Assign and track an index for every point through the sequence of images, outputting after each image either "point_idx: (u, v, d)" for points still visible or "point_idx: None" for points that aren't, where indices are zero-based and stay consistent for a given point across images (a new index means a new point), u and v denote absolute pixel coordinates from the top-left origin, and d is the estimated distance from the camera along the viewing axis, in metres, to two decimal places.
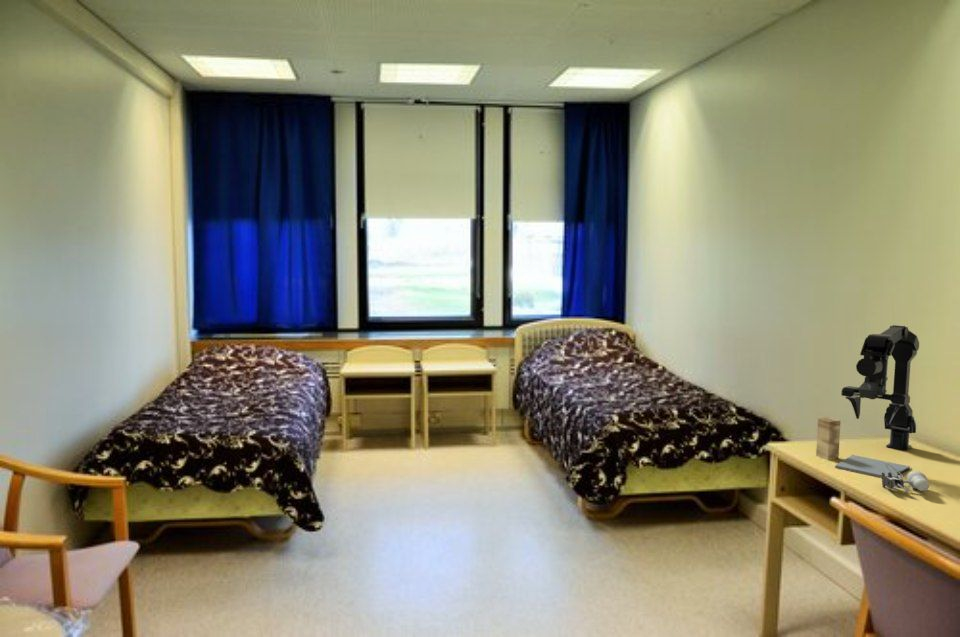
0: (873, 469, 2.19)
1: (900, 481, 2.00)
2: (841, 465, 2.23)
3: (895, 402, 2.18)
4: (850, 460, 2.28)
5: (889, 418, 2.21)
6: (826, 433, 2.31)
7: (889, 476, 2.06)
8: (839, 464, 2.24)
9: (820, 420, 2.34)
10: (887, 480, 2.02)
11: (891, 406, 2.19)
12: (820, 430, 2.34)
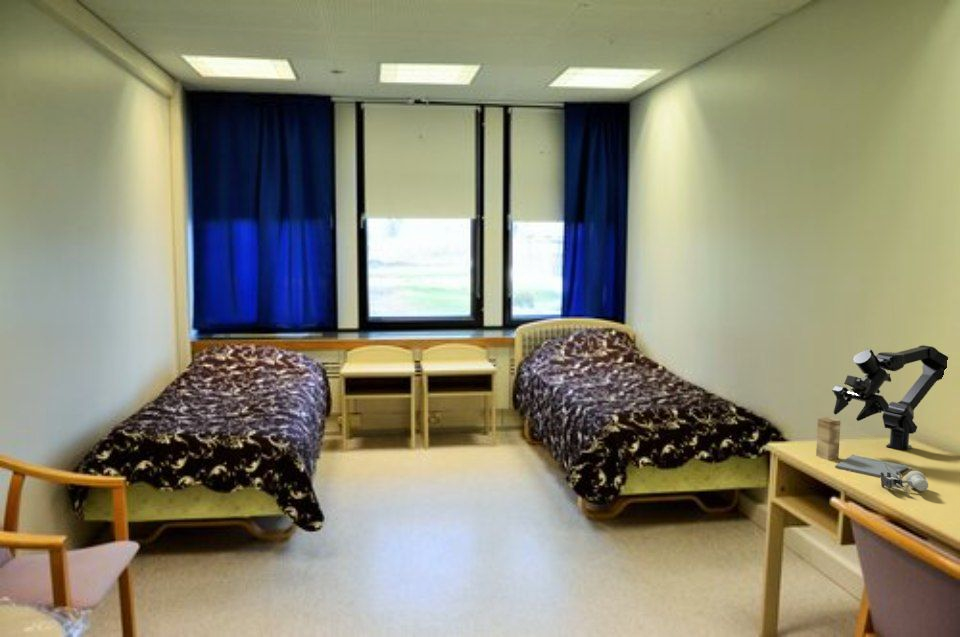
0: (873, 469, 2.19)
1: (899, 481, 2.00)
2: (841, 465, 2.23)
3: (872, 398, 2.29)
4: (850, 460, 2.28)
5: (860, 414, 2.31)
6: (826, 433, 2.31)
7: (888, 476, 2.06)
8: (839, 464, 2.24)
9: (820, 420, 2.34)
10: (886, 480, 2.02)
11: (867, 402, 2.31)
12: (820, 430, 2.34)
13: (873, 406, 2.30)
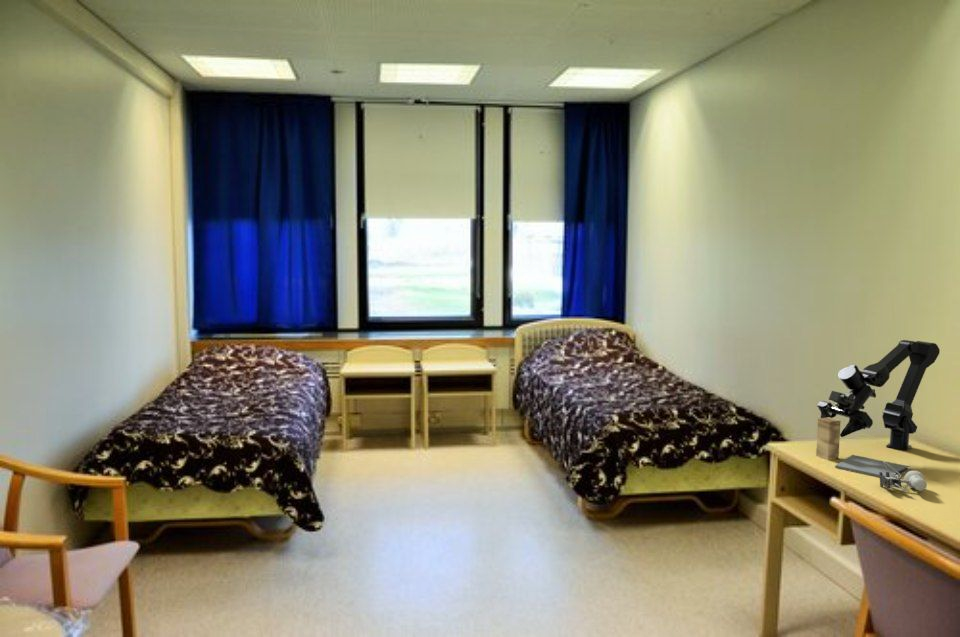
0: (873, 469, 2.19)
1: (897, 481, 2.00)
2: (841, 465, 2.23)
3: (855, 414, 2.28)
4: (850, 460, 2.28)
5: (844, 430, 2.29)
6: (826, 433, 2.31)
7: (887, 475, 2.06)
8: (839, 464, 2.24)
9: (820, 420, 2.34)
10: (885, 479, 2.02)
11: (851, 418, 2.29)
12: (820, 430, 2.34)
13: (857, 422, 2.29)
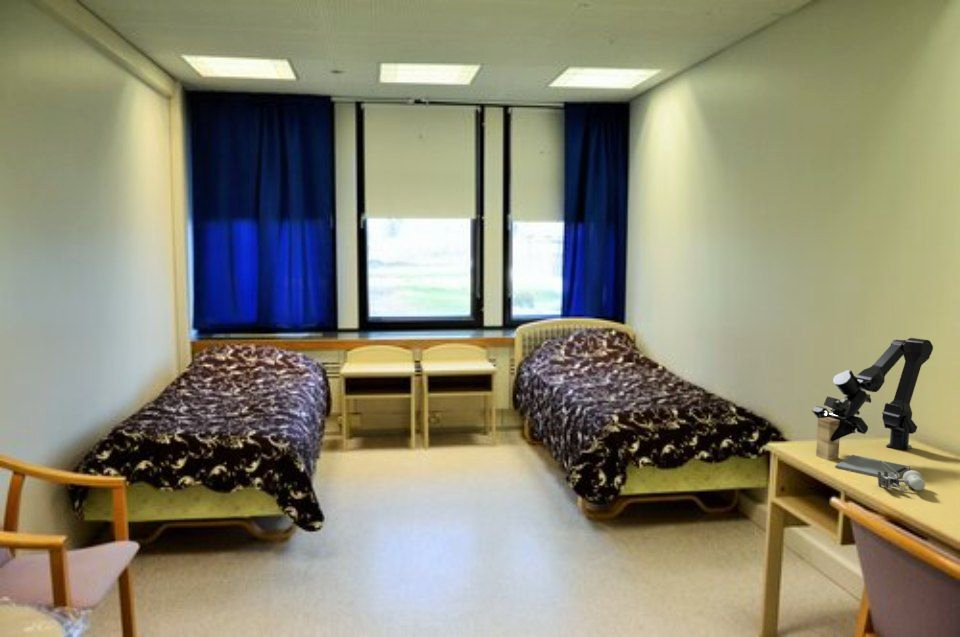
0: (873, 469, 2.19)
1: (896, 480, 2.01)
2: (841, 465, 2.23)
3: (851, 420, 2.27)
4: (850, 460, 2.28)
5: (834, 434, 2.31)
6: (826, 433, 2.31)
7: (885, 475, 2.06)
8: (839, 464, 2.24)
9: (820, 420, 2.34)
10: (883, 479, 2.03)
11: (841, 423, 2.30)
12: (820, 430, 2.34)
13: (847, 426, 2.30)
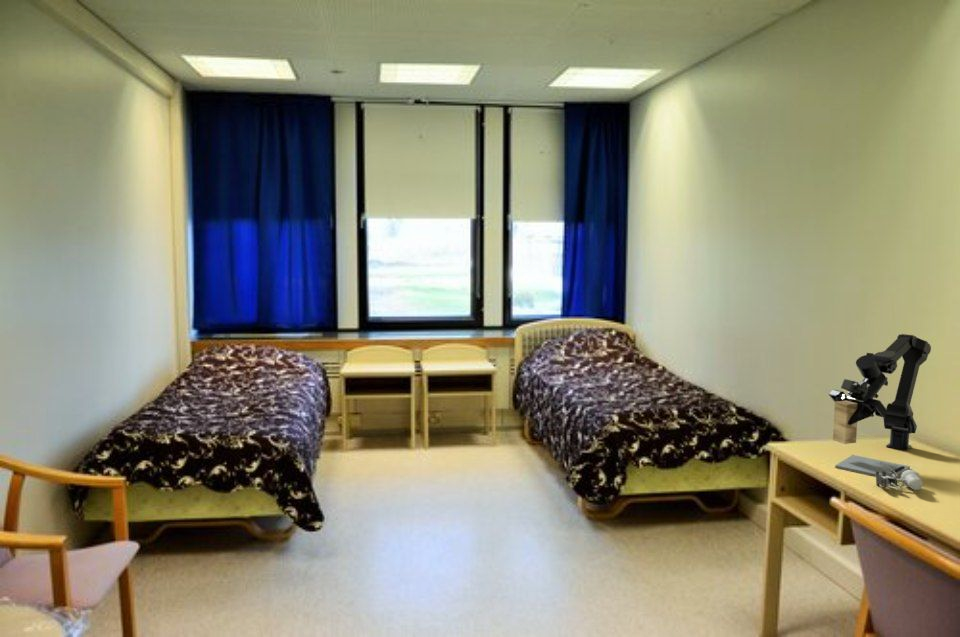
0: (873, 469, 2.19)
1: (894, 480, 2.01)
2: (841, 465, 2.23)
3: (869, 403, 2.21)
4: (850, 460, 2.28)
5: (851, 418, 2.25)
6: (844, 417, 2.26)
7: (883, 475, 2.07)
8: (839, 464, 2.24)
9: (837, 403, 2.28)
10: (881, 479, 2.03)
11: (859, 406, 2.24)
12: (837, 413, 2.28)
13: (865, 410, 2.24)
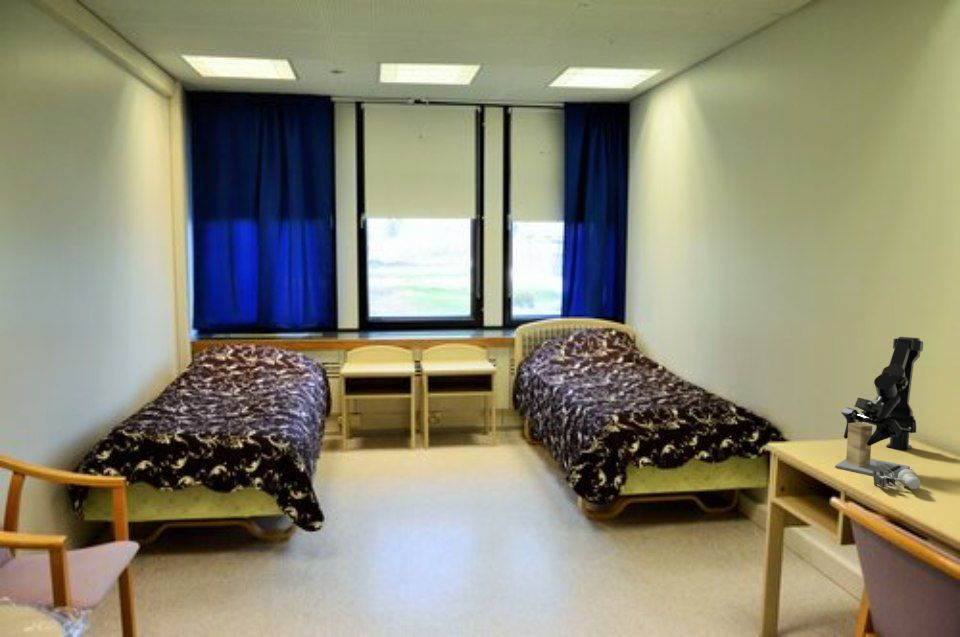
0: (873, 469, 2.19)
1: (892, 480, 2.01)
2: (841, 465, 2.23)
3: (884, 422, 2.18)
4: None
5: (871, 438, 2.19)
6: (857, 439, 2.22)
7: (881, 474, 2.07)
8: (839, 464, 2.24)
9: (851, 425, 2.24)
10: (879, 479, 2.03)
11: (878, 426, 2.19)
12: (851, 435, 2.24)
13: (885, 430, 2.19)
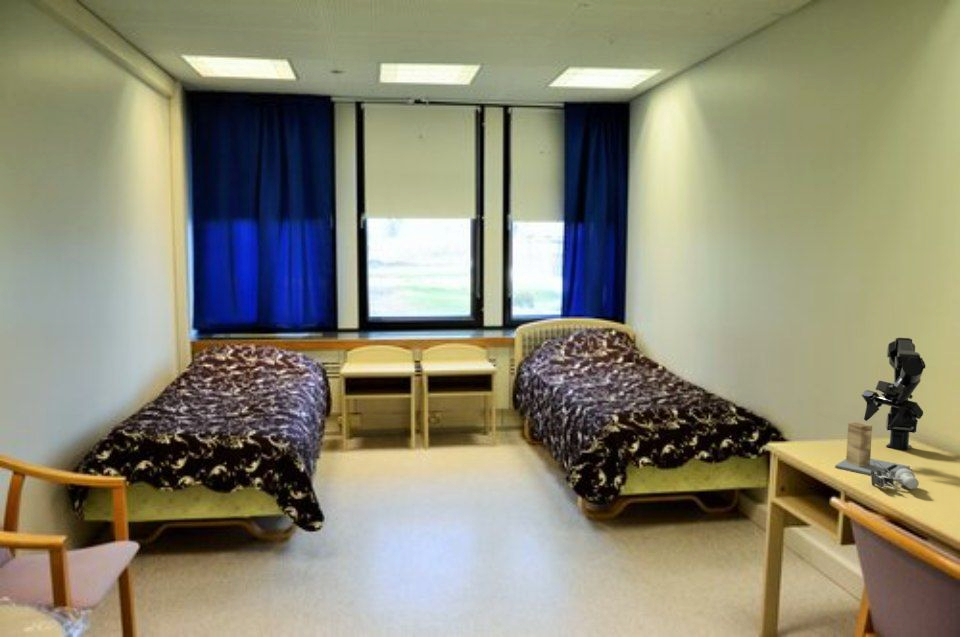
0: (873, 469, 2.19)
1: (890, 479, 2.02)
2: (841, 465, 2.23)
3: (905, 404, 2.20)
4: None
5: (893, 421, 2.22)
6: (857, 439, 2.22)
7: (878, 474, 2.07)
8: (839, 464, 2.24)
9: (851, 425, 2.24)
10: (877, 478, 2.03)
11: (900, 409, 2.21)
12: (851, 435, 2.24)
13: (907, 413, 2.21)
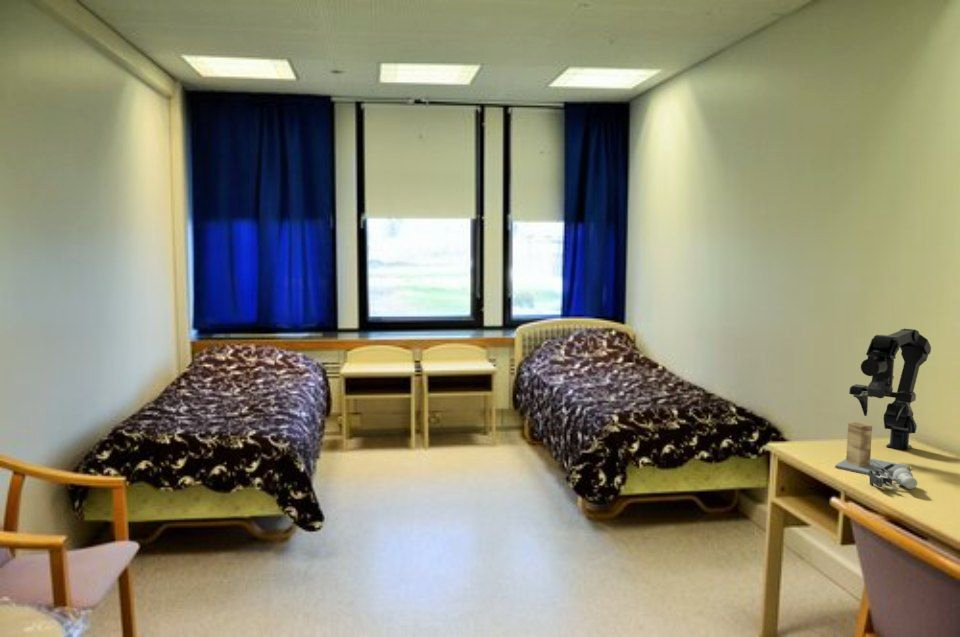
0: (873, 469, 2.19)
1: (888, 479, 2.02)
2: (841, 465, 2.23)
3: (902, 400, 2.27)
4: None
5: (896, 415, 2.30)
6: (857, 439, 2.22)
7: (876, 474, 2.07)
8: (839, 464, 2.24)
9: (851, 425, 2.24)
10: (876, 478, 2.03)
11: (898, 404, 2.28)
12: (851, 435, 2.24)
13: None
